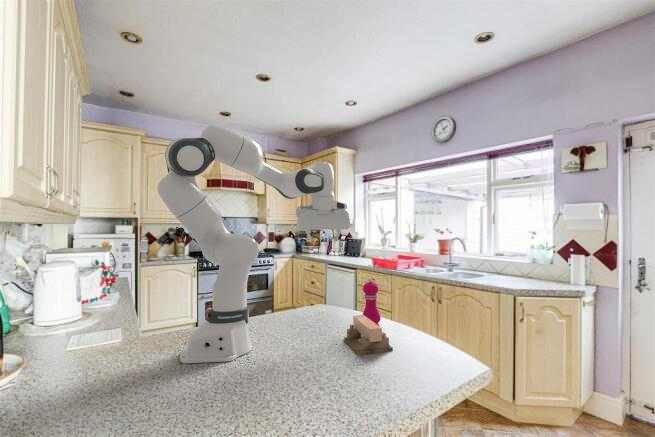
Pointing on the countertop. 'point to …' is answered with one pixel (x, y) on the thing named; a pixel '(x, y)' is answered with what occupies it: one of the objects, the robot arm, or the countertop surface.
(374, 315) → the pepper mill
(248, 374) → the countertop surface
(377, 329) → the peach rectangular block
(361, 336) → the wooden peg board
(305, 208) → the robot arm
